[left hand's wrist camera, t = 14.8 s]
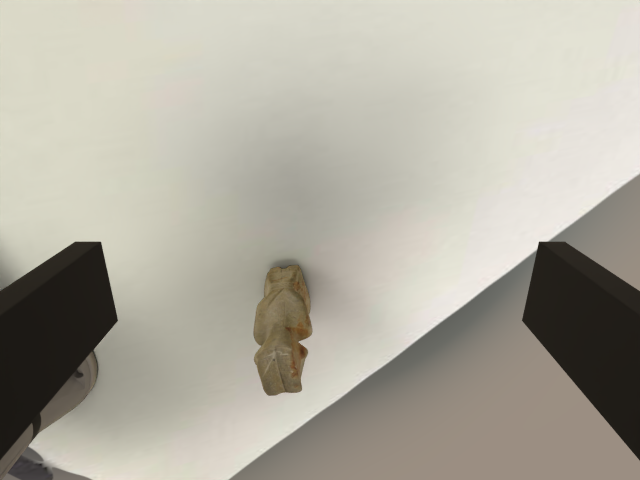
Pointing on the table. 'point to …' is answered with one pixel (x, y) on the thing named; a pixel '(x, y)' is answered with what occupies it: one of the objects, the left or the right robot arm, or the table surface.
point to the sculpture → (282, 330)
